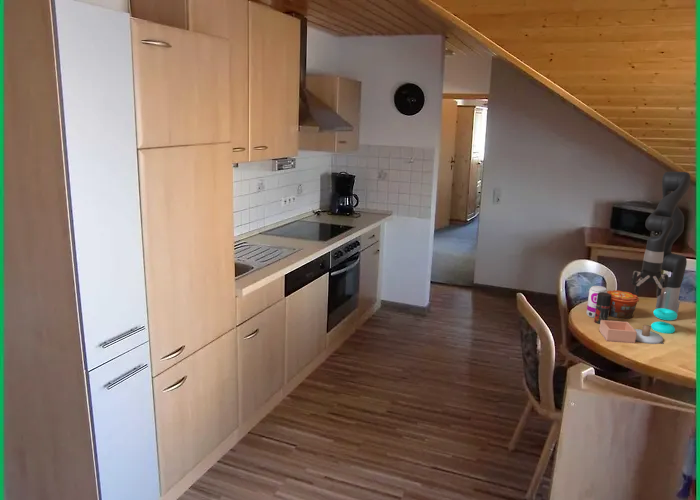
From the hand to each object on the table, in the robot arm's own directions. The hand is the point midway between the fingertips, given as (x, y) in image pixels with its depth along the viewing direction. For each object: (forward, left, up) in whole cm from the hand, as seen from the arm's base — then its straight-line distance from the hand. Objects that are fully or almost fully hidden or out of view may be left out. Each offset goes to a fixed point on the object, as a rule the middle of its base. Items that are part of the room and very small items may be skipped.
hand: (646, 294), depth 249 cm
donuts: (-14, -11, -21) cm, 27 cm away
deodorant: (+13, -15, -21) cm, 29 cm away
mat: (-2, +1, -21) cm, 21 cm away
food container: (0, -30, -21) cm, 37 cm away
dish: (+11, +3, -21) cm, 24 cm away
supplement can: (+13, -25, -21) cm, 35 cm away
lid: (-2, +1, -20) cm, 20 cm away
